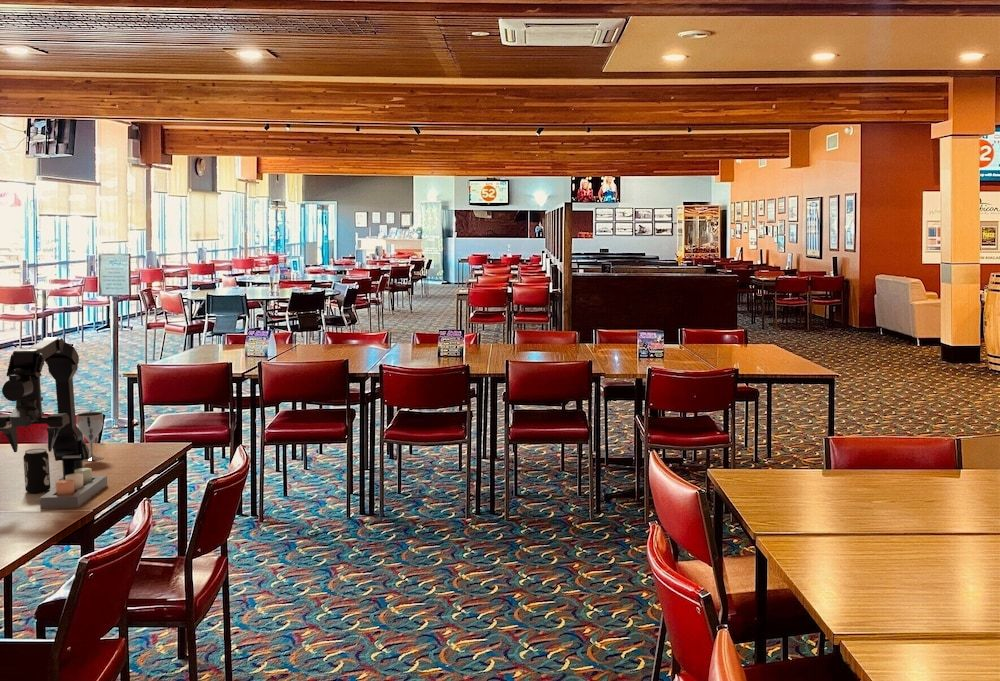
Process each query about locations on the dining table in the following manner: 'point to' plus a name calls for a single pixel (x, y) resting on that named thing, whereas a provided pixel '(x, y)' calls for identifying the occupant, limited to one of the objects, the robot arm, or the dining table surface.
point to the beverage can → (36, 471)
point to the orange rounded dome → (65, 487)
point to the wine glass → (90, 428)
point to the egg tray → (73, 495)
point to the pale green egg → (85, 473)
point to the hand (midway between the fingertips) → (32, 451)
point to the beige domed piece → (76, 480)
